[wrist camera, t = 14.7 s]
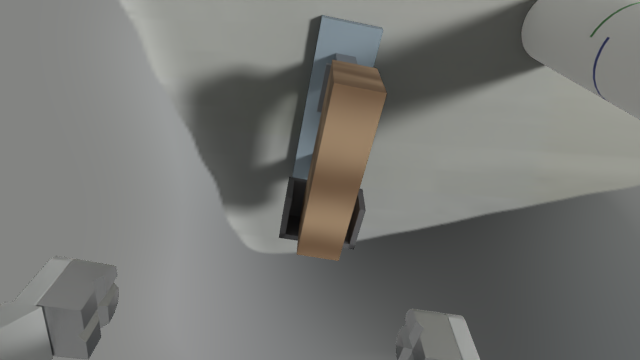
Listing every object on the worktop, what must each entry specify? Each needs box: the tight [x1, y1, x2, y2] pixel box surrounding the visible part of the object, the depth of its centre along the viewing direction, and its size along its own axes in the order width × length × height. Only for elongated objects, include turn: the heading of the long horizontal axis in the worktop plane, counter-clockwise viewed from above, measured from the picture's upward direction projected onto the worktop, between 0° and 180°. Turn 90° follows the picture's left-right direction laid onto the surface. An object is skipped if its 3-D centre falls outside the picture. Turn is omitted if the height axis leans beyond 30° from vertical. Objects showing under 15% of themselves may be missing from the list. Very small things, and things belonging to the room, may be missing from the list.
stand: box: [279, 15, 383, 249], centre depth 39 cm, size 18×7×13 cm, turn 169°
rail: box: [297, 59, 387, 261], centre depth 33 cm, size 15×4×6 cm, turn 169°
